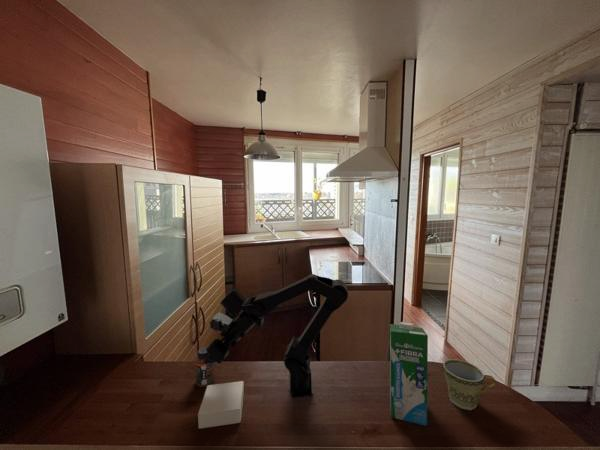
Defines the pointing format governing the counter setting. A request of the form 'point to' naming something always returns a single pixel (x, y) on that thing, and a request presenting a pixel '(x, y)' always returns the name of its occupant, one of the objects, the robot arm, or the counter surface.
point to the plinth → (221, 405)
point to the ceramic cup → (464, 383)
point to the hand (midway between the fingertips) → (212, 354)
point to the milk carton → (408, 373)
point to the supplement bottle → (204, 369)
